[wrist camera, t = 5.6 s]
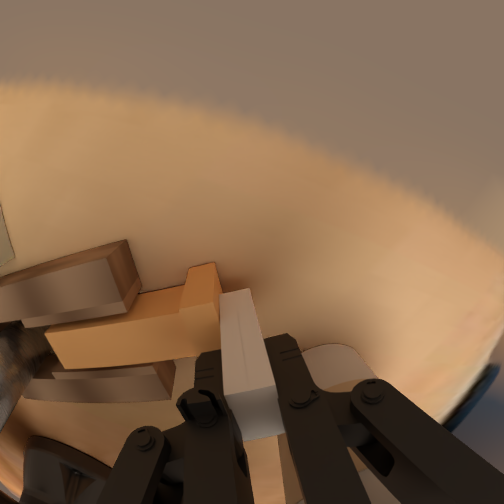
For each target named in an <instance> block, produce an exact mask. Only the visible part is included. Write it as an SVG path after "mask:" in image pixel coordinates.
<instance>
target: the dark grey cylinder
mask: <svg viewBox="0 0 504 504" xmlns="http://www.w3.org/2000/svg"><path fill="white" fill-rule="evenodd" d="M50 326H51V325H45V326H38V327H31V328H25V327H24V325H23V323H22V321H21V320H15V321H11V322H10V323H9V324H8V325H7V326H6V327H5V328H4V329H3V330H2V331H1V332H0V432H1V431H2V429H3V427H4V425H5V423H6V421H7V419H8V418H9V416H10V414H11V412H12V411H13V409H14V407H15V405H16V404H17V402H18V400H19V399H20V397H21V395H22V394H23V392H24V391H25V389H26V387H27V386H28V384H29V383H30V381H31V380H32V378H33V376H34V375H35V373H36V372H37V370H38V369H39V367H40V366H41V364H42V363H43V362H44V360H45V359H46V357H47V356H48V354H49V353H50V351H51V350H52V349H53V348H52V347H51V345H50V343H49V341H48V339H47V338H46V336H45V334H44V333H45V332H46V331H47V330H48V329H49V327H50Z"/></svg>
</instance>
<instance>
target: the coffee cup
mask: <svg viewBox="0 0 504 504" xmlns="http://www.w3.org/2000/svg"><path fill="white" fill-rule="evenodd" d="M301 354H302V356H303V358H304V360H305V363H306V365H307V367H308V370H309V372H310V374H311V376H312V379H313V381H314V383H315V384H316V385H317V386H318V387H319V388H320V389H322V390H324V391H328V392H350V391H352V389H353V387H354V386H355V385H357V384H358V383H359V382H361V381H363V380H366V379H373V378H376V379H378V377H377V376H376V375H375V374H374V373H373V371H372V370H371V369H370V368H369V366H368V365H367V364H366V363H365V362H364V360H363V359H362V358H361V357H360V356H359V354H358V353H357V352H356V351H355V350H354V349H353V348H351V347H349V346H346V345H342V344H326V345H321V346H317V347H314V348H311V349H308V350H306V351H304V352H302V353H301ZM277 437H278V445H279V453H280V460H281V468H282V476H283V484H284V492H285V500H286V504H305V503H304V500H303V496H302V493H301V489H300V485H299V482H298V478H297V475H296V471H295V467H294V464H293V460H292V456H291V454H290V450H289V445H288V441H287V437H286V433H283V434H279V435H277ZM347 449H348V451H349V453H350V456H351V458H352V460H353V462H354V465H355V467H356V469H357V471H358V474H359V476H360V478H361V481H362V483H363V485H364V487H365V490H366V492H367V494H368V497H369V499H370V501H371V504H401V503H400V502H399V501H398V500H397V499H396V498H395V497H394V496H393V495H392V494H391V493H390V492H389V491H388V489H387V488H386V487H385V486H384V485H383V484H382V483H381V482H380V481H379V480H378V479H377V478H376V477H375V475H374V474H373V473H372V472H371V471H370V470H369V469H368V468H367V467H366V465H365V464H364V463H363V462H362V461H361V460H360V459H359V458H358V456H357V455H356V454H355V453H354V452H353V451H352V450H351V449H350V447H347Z"/></svg>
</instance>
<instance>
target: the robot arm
mask: <svg viewBox="0 0 504 504" xmlns="http://www.w3.org/2000/svg"><path fill="white" fill-rule="evenodd" d="M219 306H220V332H221V349H218V350H213V351H208V352H203V353H201V354H200V355H199V357H198V359H197V360H196V363H195V380H194V388H192V389H189V390H188V391H186V392H184V393H183V394H182V395H181V396H180V397H179V399H178V401H177V404H176V406H177V408H178V410H179V411H180V413H181V415H182V416H183V418H184V419H185V422H184V423H182V424H181V425H179V426H177V427H174V428H171V429H168V430H166V431H163V432H161V431H160V430H159V429H158V428H156V427H153V426H143V427H140V428H137V429H136V430H134V431H133V432H132V433H131V434H130V435H129V437H128V438H127V440H126V442H125V444H124V446H123V448H122V450H121V452H120V454H119V456H118V458H117V460H116V462H115V464H114V466H113V469H110V468H109V467H107V466H105V465H104V464H102V463H100V462H98V461H97V460H95V459H93V458H91V457H89V456H87V455H85V454H83V453H81V452H79V451H77V450H75V449H73V448H70V447H68V446H66V445H64V444H61V443H59V442H56V441H53V440H50V439H47V438H43V437H38V436H33V437H30V438H29V439H28V441H27V443H26V445H25V448H24V451H23V454H24V465H23V491H22V495H21V498H20V501H19V503H18V502H17V501H15V500H14V499H13V498H11V497H10V496H8V495H7V494H5V493H4V492H3V491H1V490H0V504H254V498H253V492H252V486H251V479H250V473H249V466H248V460H247V454H246V452H245V449H244V447H243V440H244V441H250V440H255V439H261V438H265V437H270V436H275V435H279V434H283V433H286V437H287V441H288V445H289V450H290V454H291V456H292V460H293V464H294V467H295V471H296V475H297V478H298V482H299V485H300V489H301V493H302V496H303V500H304V503H305V504H371V501H370V499H369V497H368V494H367V492H366V490H365V487H364V485H363V483H362V481H361V478H360V476H359V474H358V471H357V469H356V467H355V465H354V462H353V460H352V458H351V456H350V453H349V451H348V449H347V447H350V449H351V450H352V451H353V452H354V453H355V454H356V455H357V456H358V458H359V459H360V460H361V461H362V462H363V463H364V464H365V465H366V467H367V468H368V469H369V470H370V471H371V472H372V473H373V474H374V475H375V477H376V478H377V479H378V480H379V481H380V482H381V483H382V484H383V485H384V486H385V487H386V488H387V489H388V491H389V492H390V493H391V494H392V495H393V496H394V497H395V498H396V499H397V500H398V501H399V502H400V503H401V504H504V474H503V473H501V472H500V471H498V470H497V469H496V468H495V467H493V466H492V465H491V464H490V463H488V462H487V461H486V460H484V459H483V458H482V457H480V456H479V455H478V454H477V453H475V452H474V451H473V450H472V449H470V448H469V447H468V446H467V445H465V444H464V443H463V442H461V441H460V440H459V439H457V438H456V437H455V436H454V435H453V434H451V433H450V432H449V431H448V430H446V429H445V428H444V427H443V426H441V425H440V424H439V423H438V422H436V421H435V420H434V419H433V418H431V417H430V416H429V415H428V414H426V413H425V412H424V411H423V410H421V409H420V408H419V407H418V406H416V405H415V404H414V403H413V402H412V401H410V400H409V399H408V398H407V397H405V396H404V395H403V394H402V393H400V392H399V391H398V390H397V389H396V388H394V387H393V386H392V385H391V384H389V383H388V382H386V381H384V380H382V379H376V378H373V379H366V380H363V381H361V382H359V383H358V384H357V385H355V386H354V387H353V389H352V391H350V392H328V391H324V390H322V389H320V388H319V387H318V386H317V385H316V384H315V383H314V381H313V379H312V376H311V374H310V372H309V370H308V367H307V365H306V363H305V360H304V358H303V356H302V354H301V351H300V349H299V347H298V344H297V342H296V340H295V339H294V338H293V337H291V336H290V335H289V334H287V333H286V334H282V335H278V336H274V337H270V338H265V339H263V337H262V333H261V329H260V326H259V322H258V318H257V314H256V311H255V307H254V303H253V299H252V296H251V292H250V288H246V289H241V290H237V291H232V292H228V293H223V294H219ZM242 438H243V440H242Z"/></svg>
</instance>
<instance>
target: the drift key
mask: <svg viewBox="0 0 504 504" xmlns="http://www.w3.org/2000/svg"><path fill="white" fill-rule="evenodd" d="M219 294H223V292H222V288H221V285H220V281H219V277H218V273H217V270H216V266H215V262H214V263H210V264H205V265H201V266H196V267H192V268H189V271H188V275H187V278H186V282H185V285H182V286H177V287H173V288H168V289H163V290H158V291H153V292H148V293H143V294H139V295H136V297H135V299H134V301H133V302H132V304H131V306H130V308H129V310H128V312H126V313H120V314H114V315H108V316H103V317H97V318H91V319H84V320H78V321H72V322H65V323H59V324H52V325H51V326H50V327H49V329H48V330H47V331H46V332H45V333H44V334H45V336H46V338H47V339H48V341H49V343H50V345H51V347H52V348H53V350H54V352H55V353H56V355H57V357H58V358H59V360H60V362H61V363H62V365H63V367H64V368H65V369H81V368H97V367H111V366H122V365H132V364H141V363H150V362H157V361H165V360H172V359H179V358H185V357H192V356H197V359H198V357H199V355H200V354H201V353H203V352H208V351H213V350H218V349H221V332H220V306H219Z"/></svg>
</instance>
